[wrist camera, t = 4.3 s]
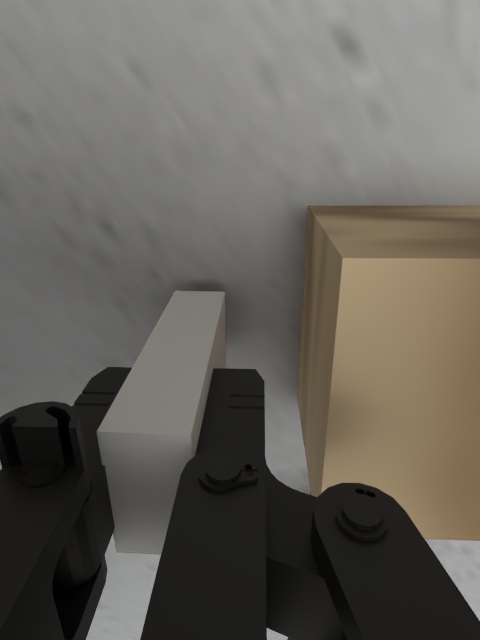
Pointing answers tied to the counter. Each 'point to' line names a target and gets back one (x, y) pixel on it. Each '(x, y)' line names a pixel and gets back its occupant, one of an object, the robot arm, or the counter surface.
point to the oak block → (395, 358)
